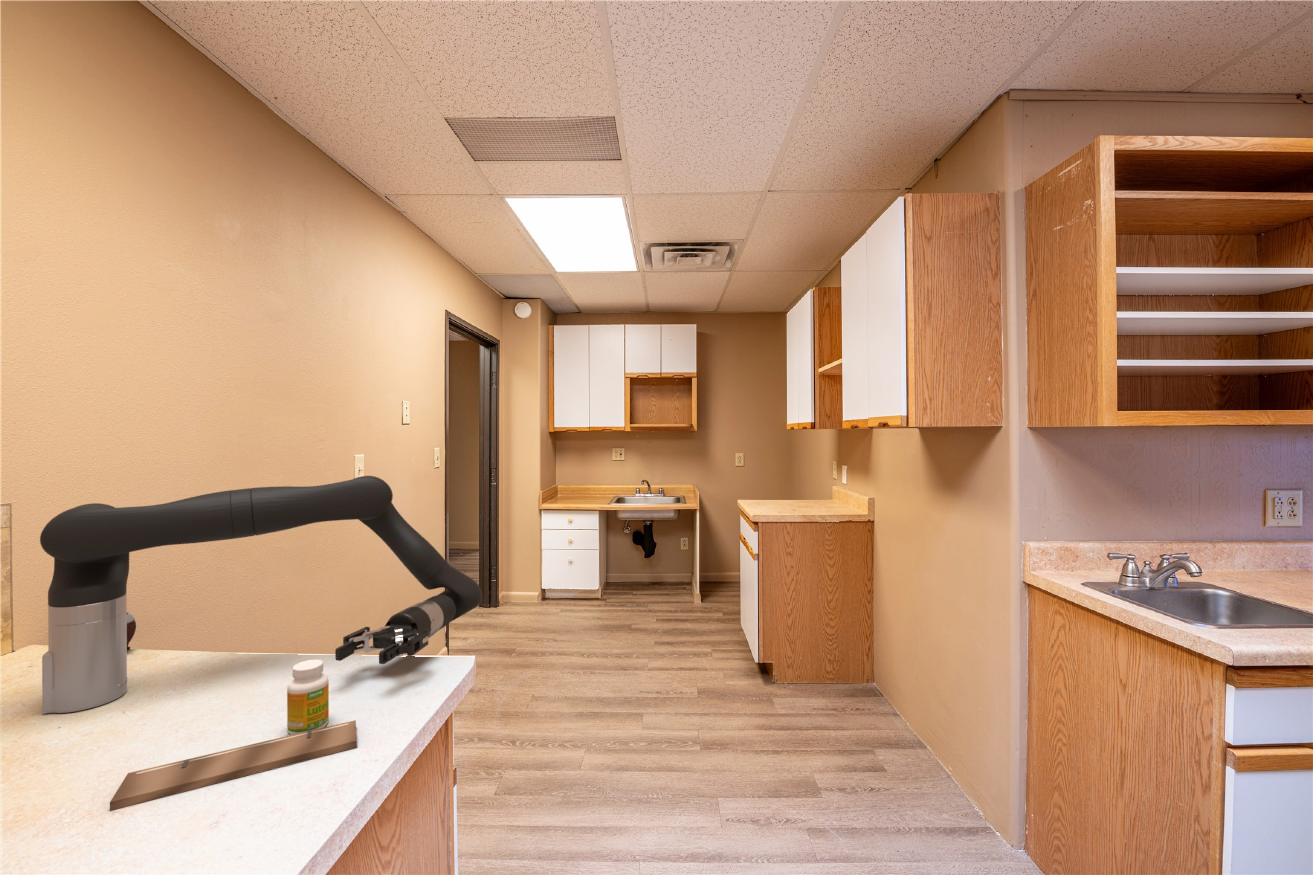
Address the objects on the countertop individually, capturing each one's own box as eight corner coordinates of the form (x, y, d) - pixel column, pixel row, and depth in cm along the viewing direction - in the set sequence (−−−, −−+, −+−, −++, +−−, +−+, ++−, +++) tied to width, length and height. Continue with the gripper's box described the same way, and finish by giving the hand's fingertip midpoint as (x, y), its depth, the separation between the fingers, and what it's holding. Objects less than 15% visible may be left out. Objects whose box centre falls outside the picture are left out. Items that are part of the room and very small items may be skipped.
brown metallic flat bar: (109, 810, 65) (109, 801, 65) (128, 780, 71) (128, 772, 71) (356, 747, 78) (356, 739, 78) (355, 726, 84) (355, 719, 84)
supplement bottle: (308, 738, 80) (308, 673, 80) (278, 734, 82) (278, 670, 82) (336, 720, 86) (336, 658, 86) (308, 716, 87) (308, 656, 87)
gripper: (384, 604, 111) (322, 633, 95) (447, 607, 109) (395, 637, 93) (384, 640, 111) (322, 675, 95) (448, 645, 109) (395, 681, 93)
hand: (358, 656), depth 94 cm, fingers open, 8 cm apart
